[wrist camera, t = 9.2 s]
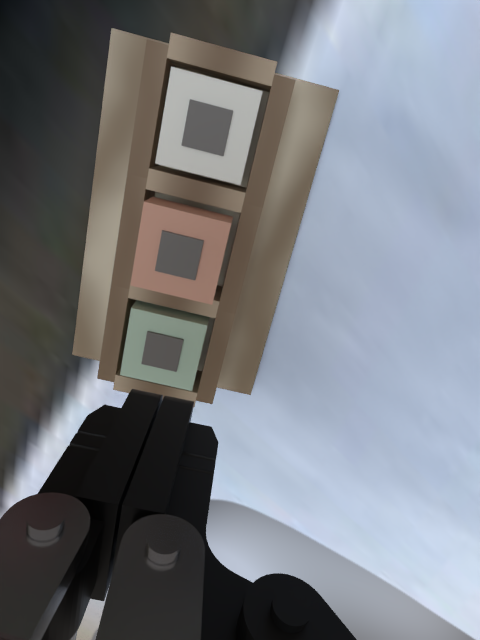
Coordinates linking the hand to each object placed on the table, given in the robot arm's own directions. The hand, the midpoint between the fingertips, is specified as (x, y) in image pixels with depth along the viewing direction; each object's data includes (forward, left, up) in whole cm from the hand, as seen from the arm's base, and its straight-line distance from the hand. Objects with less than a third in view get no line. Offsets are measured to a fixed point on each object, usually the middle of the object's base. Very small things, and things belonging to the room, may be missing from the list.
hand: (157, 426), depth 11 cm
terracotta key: (+2, 0, -19) cm, 19 cm away
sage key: (+2, +7, -21) cm, 22 cm away
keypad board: (+2, 0, -23) cm, 23 cm away
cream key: (+2, -7, -21) cm, 22 cm away
